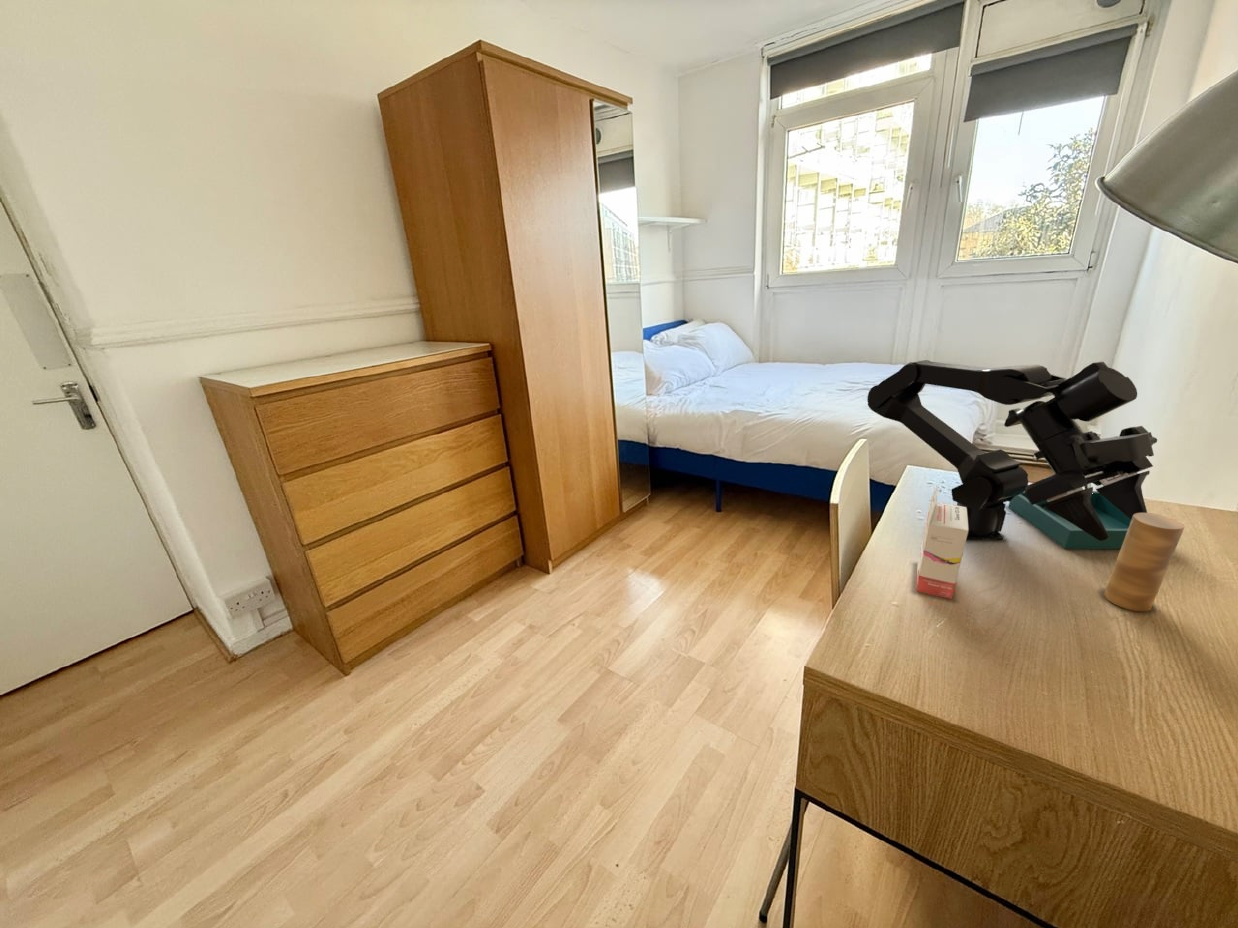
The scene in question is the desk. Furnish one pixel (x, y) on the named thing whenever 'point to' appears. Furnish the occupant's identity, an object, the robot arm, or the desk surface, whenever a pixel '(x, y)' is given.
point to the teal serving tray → (1068, 532)
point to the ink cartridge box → (942, 548)
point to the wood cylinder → (1143, 560)
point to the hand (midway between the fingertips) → (1125, 532)
